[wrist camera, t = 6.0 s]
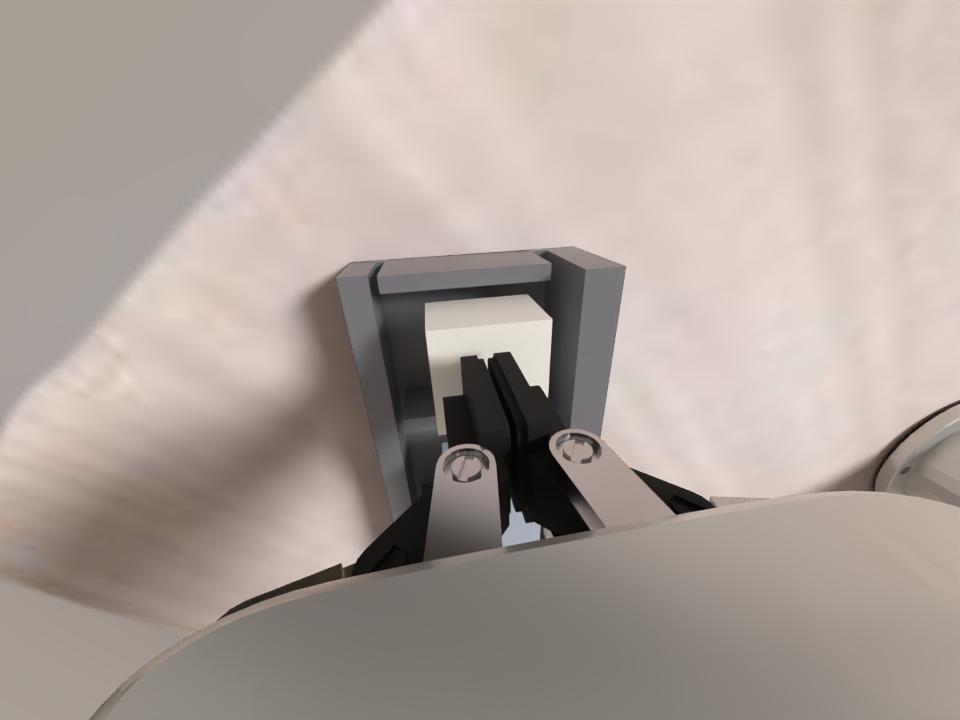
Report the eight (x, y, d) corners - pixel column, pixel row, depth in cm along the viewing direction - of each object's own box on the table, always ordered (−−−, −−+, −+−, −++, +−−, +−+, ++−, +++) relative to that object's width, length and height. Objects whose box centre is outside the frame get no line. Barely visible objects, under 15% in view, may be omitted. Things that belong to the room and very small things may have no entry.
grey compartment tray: (574, 246, 17) (630, 267, 13) (546, 586, 31) (569, 658, 26) (350, 262, 16) (320, 292, 11) (424, 609, 29) (424, 689, 25)
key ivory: (527, 294, 15) (552, 319, 12) (525, 382, 17) (546, 421, 14) (424, 302, 14) (425, 331, 11) (435, 392, 16) (438, 435, 13)
